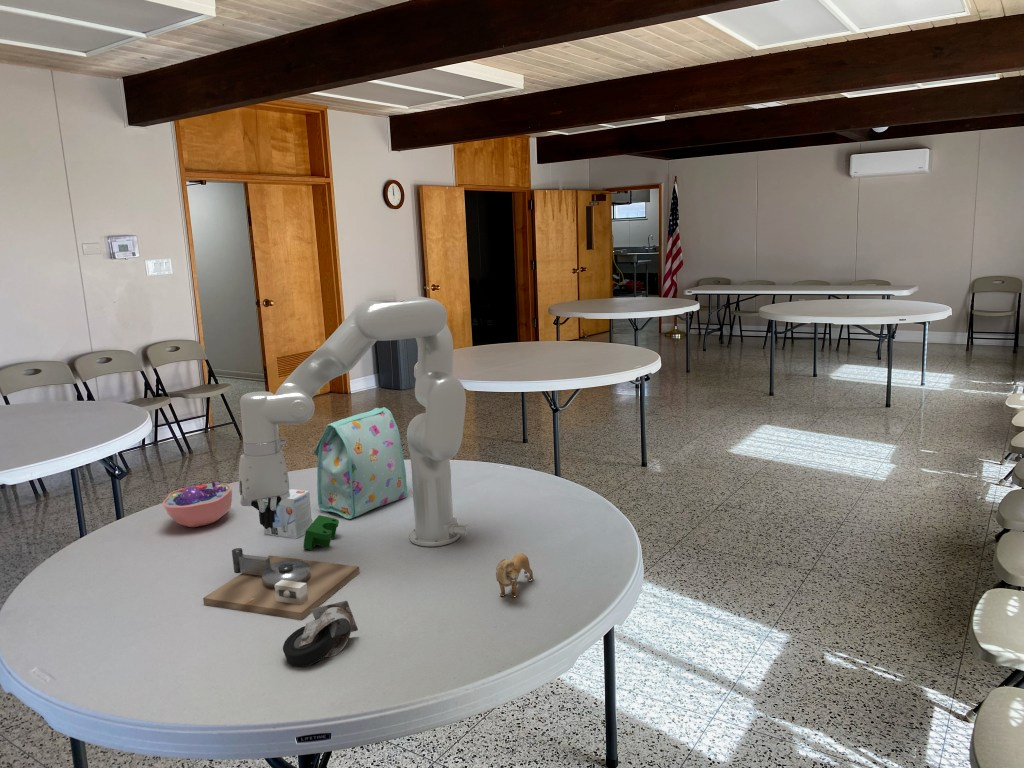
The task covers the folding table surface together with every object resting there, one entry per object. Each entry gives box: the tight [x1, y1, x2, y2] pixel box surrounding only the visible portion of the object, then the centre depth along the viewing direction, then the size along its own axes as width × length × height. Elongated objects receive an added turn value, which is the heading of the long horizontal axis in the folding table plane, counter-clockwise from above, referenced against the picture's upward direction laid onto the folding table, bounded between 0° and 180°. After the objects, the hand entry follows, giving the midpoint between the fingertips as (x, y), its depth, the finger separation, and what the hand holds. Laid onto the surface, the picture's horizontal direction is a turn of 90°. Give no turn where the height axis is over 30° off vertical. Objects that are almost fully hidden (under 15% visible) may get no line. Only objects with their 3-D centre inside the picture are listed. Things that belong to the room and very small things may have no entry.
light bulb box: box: [263, 488, 313, 540], centre depth 192 cm, size 11×7×11 cm, turn 68°
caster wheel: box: [282, 600, 359, 668], centre depth 134 cm, size 7×12×10 cm
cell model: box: [162, 481, 233, 528], centre depth 201 cm, size 17×20×11 cm
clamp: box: [303, 514, 340, 551], centre depth 185 cm, size 11×6×8 cm, turn 171°
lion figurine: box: [495, 553, 534, 597], centre depth 155 cm, size 15×5×9 cm, turn 163°
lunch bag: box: [313, 406, 408, 520], centre depth 209 cm, size 23×16×27 cm
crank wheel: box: [231, 547, 311, 589], centre depth 162 cm, size 19×10×5 cm, turn 71°
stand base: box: [202, 555, 360, 621], centre depth 160 cm, size 24×22×5 cm
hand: (267, 526), depth 167 cm, fingers closed
